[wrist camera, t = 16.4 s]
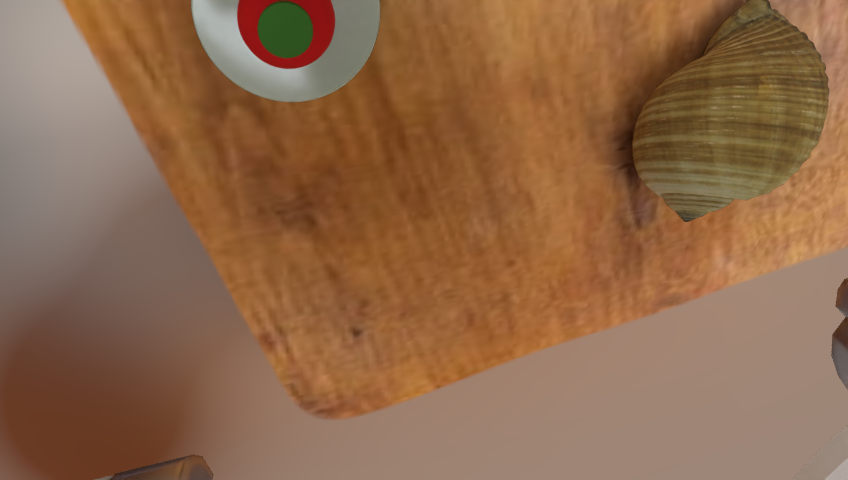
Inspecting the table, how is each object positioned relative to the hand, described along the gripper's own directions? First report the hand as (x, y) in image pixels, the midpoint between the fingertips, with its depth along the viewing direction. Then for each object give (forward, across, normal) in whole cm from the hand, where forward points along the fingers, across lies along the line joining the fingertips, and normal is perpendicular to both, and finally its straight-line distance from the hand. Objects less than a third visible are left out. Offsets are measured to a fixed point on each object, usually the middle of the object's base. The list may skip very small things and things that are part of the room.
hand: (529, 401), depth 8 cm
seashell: (+22, -14, +6) cm, 27 cm away
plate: (+22, +3, -2) cm, 22 cm away
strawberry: (+21, +3, -2) cm, 21 cm away
